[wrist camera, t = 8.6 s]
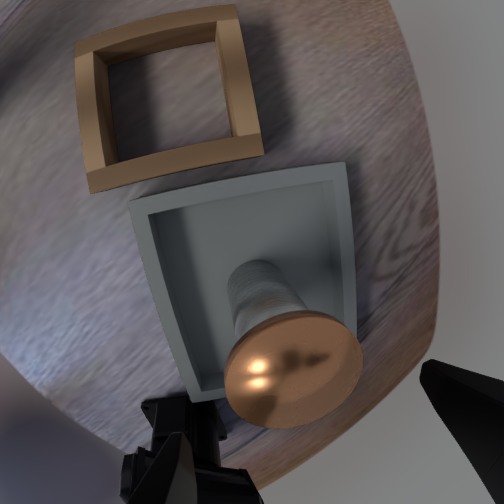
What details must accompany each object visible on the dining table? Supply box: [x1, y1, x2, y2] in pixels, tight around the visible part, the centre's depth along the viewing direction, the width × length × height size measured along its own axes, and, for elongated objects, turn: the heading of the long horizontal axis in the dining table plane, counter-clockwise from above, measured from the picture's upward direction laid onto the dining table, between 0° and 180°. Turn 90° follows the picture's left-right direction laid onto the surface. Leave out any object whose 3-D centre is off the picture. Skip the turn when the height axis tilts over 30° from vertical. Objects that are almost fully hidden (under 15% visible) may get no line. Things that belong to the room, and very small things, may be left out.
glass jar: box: [224, 260, 363, 429], centre depth 15 cm, size 6×6×10 cm
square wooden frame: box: [75, 4, 264, 194], centre depth 15 cm, size 10×10×3 cm
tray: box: [128, 162, 357, 403], centre depth 19 cm, size 15×13×2 cm
